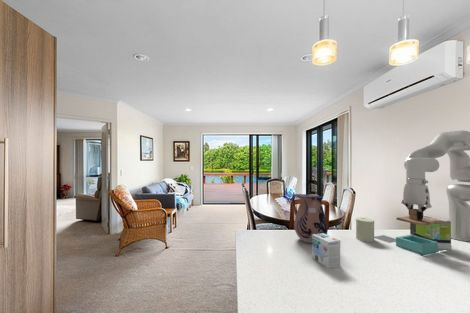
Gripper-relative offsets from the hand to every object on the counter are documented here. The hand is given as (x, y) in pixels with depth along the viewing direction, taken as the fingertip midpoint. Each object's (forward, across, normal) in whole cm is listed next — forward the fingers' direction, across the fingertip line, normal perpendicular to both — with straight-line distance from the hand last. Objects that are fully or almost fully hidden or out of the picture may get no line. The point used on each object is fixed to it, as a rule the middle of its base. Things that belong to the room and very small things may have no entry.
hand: (415, 218), depth 113 cm
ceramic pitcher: (+16, +30, +43) cm, 55 cm away
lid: (+2, 0, 0) cm, 2 cm away
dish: (+16, 0, 0) cm, 16 cm away
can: (+16, +19, +12) cm, 28 cm away
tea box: (+16, +2, -15) cm, 22 cm away
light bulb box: (+16, +5, +54) cm, 57 cm away
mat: (+16, +15, 0) cm, 22 cm away
